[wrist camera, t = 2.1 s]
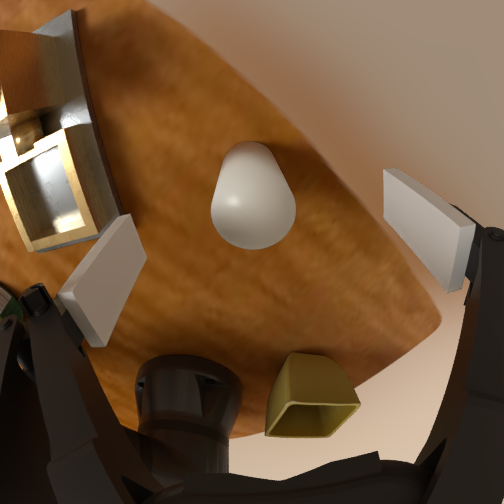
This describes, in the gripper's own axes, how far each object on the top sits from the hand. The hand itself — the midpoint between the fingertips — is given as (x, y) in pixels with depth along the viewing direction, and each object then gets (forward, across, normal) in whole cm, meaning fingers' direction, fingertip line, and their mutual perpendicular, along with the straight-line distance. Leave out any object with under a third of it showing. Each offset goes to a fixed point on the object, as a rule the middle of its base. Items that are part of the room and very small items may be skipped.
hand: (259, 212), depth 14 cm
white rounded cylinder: (+11, 0, 0) cm, 11 cm away
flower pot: (+11, -2, +26) cm, 29 cm away
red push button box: (+11, +18, -8) cm, 23 cm away
